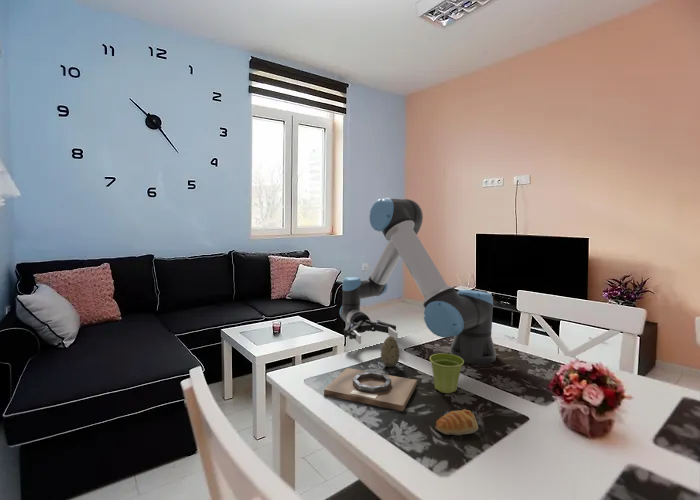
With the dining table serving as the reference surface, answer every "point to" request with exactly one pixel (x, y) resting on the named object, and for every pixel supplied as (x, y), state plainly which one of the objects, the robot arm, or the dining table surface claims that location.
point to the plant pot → (446, 371)
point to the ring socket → (371, 388)
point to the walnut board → (390, 399)
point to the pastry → (457, 423)
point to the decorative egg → (390, 352)
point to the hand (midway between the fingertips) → (378, 338)
